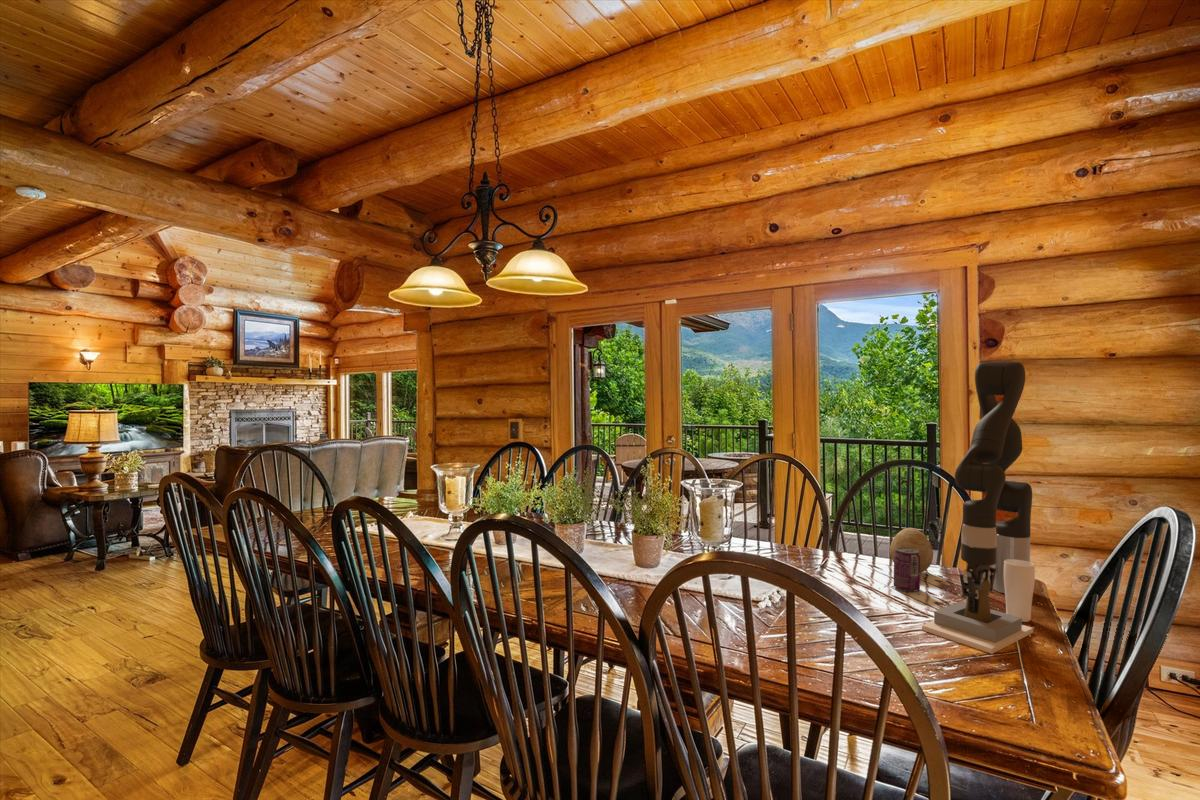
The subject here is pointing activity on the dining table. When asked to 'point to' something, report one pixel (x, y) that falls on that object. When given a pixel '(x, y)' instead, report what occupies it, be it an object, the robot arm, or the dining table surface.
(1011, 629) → the socket board
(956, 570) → the dining table surface
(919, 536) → the fossilized egg
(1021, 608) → the drinking glass
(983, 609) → the cork
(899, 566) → the beverage can
